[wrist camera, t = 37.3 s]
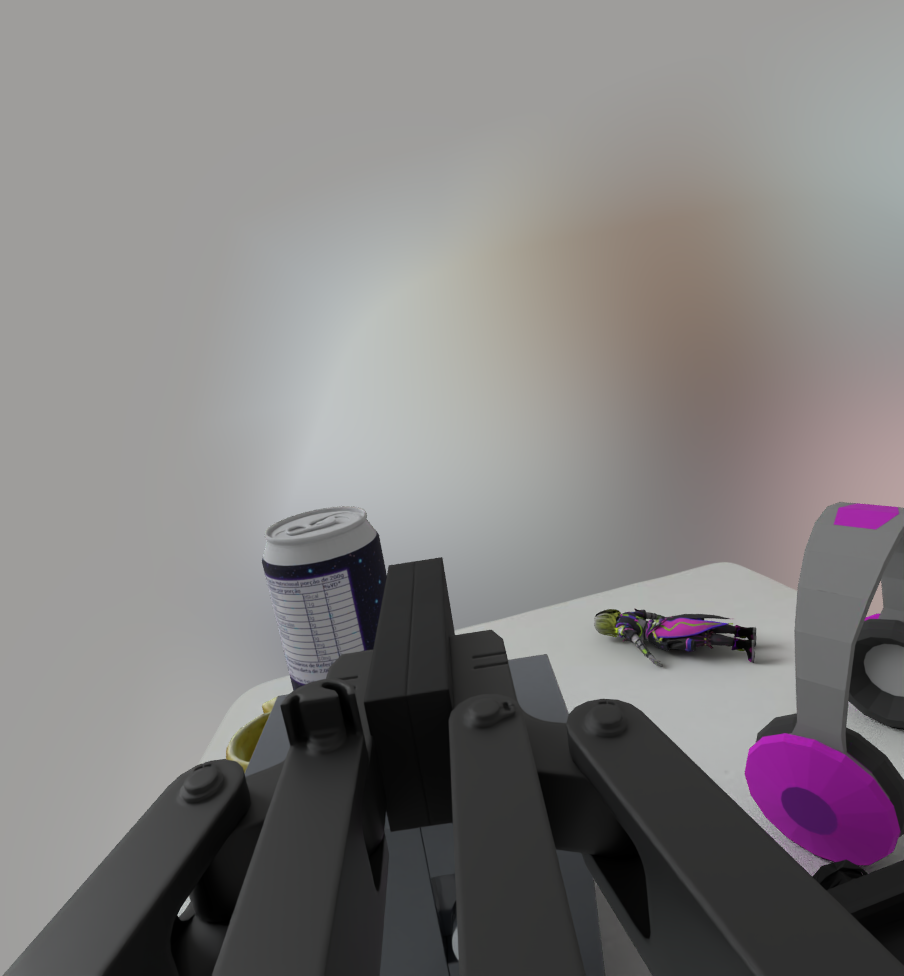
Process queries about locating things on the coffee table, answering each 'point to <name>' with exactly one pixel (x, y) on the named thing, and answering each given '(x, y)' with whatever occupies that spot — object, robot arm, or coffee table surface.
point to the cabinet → (452, 856)
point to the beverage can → (324, 587)
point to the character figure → (674, 631)
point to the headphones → (840, 693)
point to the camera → (870, 899)
